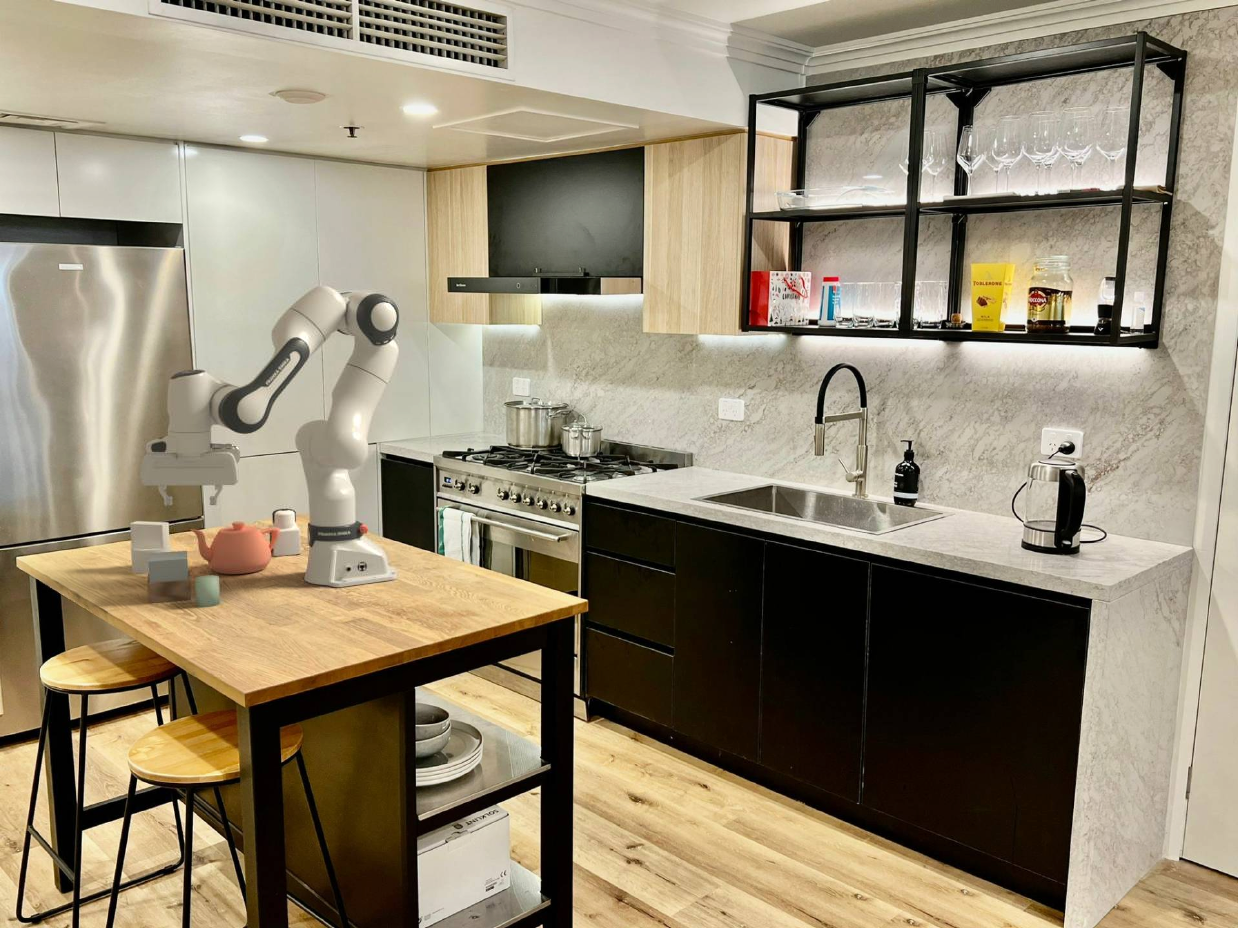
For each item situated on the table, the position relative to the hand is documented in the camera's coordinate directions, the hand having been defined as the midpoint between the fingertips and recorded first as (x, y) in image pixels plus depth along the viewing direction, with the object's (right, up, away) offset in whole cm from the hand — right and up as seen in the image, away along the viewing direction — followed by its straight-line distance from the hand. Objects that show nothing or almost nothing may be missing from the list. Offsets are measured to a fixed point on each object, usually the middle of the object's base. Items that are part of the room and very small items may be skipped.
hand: (191, 504), depth 230 cm
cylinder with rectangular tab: (-23, -18, +31) cm, 43 cm away
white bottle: (+5, -15, +50) cm, 53 cm away
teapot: (-2, -18, +33) cm, 37 cm away
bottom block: (-8, -22, +8) cm, 25 cm away
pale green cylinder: (+2, -23, +3) cm, 23 cm away
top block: (-8, -17, +7) cm, 20 cm away
